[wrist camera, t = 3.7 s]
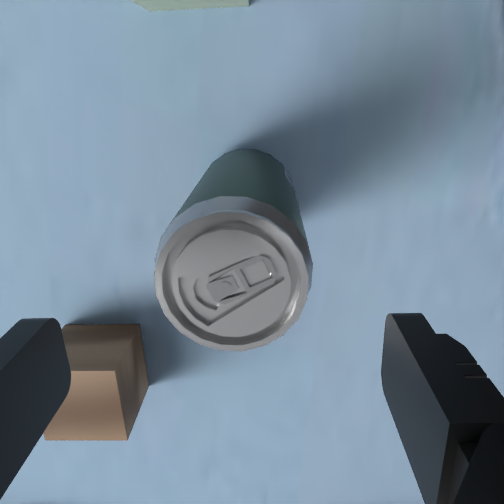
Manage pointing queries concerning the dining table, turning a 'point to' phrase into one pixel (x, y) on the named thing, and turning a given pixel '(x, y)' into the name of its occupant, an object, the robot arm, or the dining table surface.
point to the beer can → (235, 256)
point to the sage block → (188, 4)
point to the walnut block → (101, 383)
